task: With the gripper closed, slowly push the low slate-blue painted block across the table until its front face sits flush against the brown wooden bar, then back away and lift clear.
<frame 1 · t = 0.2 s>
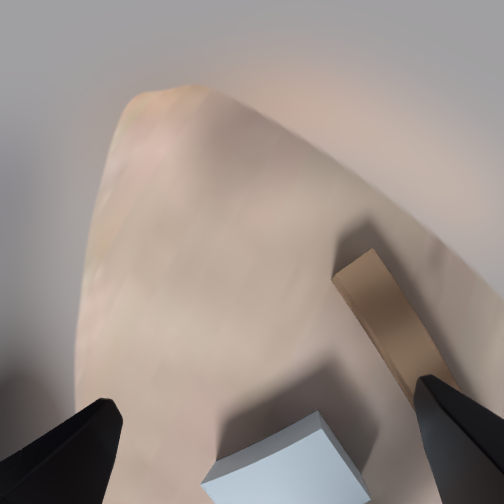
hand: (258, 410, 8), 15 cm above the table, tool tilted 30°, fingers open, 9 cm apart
brown wooden bar: (423, 386, 20), on the table
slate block: (288, 470, 20), on the table
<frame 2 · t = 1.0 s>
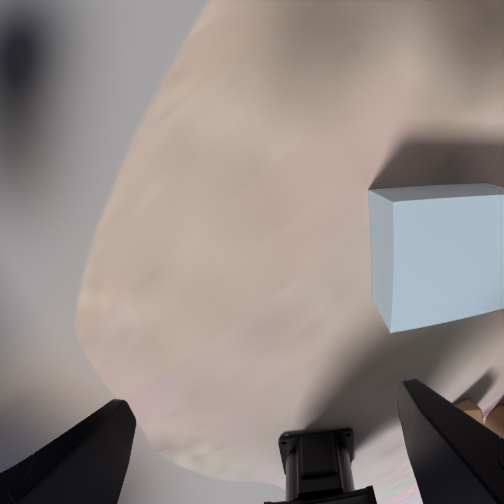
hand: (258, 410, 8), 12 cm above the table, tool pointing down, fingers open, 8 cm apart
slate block: (432, 238, 18), on the table
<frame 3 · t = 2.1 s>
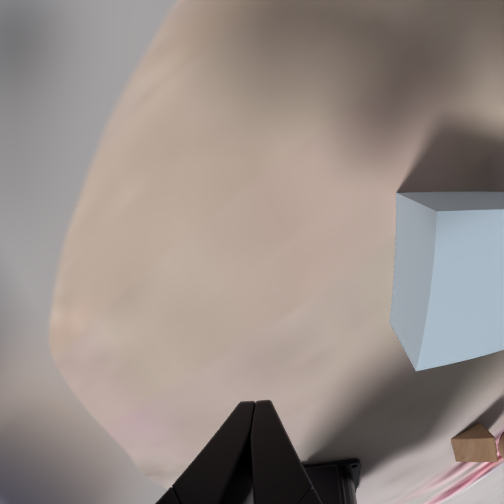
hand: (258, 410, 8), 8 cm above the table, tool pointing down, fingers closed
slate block: (464, 254, 15), on the table
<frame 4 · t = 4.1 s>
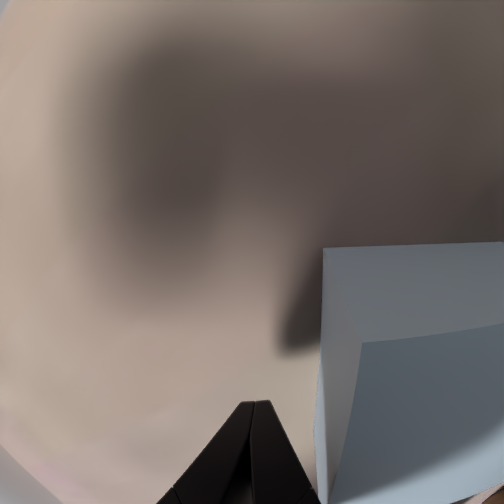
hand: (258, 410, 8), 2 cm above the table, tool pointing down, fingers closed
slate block: (446, 340, 9), on the table, touching gripper
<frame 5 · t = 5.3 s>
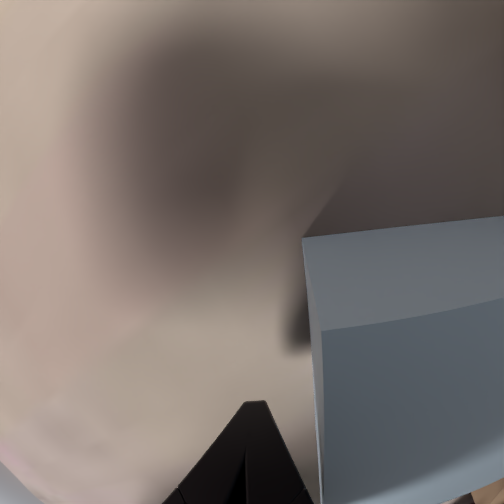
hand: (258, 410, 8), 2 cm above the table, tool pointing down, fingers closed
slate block: (445, 326, 9), on the table, touching gripper, brown wooden bar
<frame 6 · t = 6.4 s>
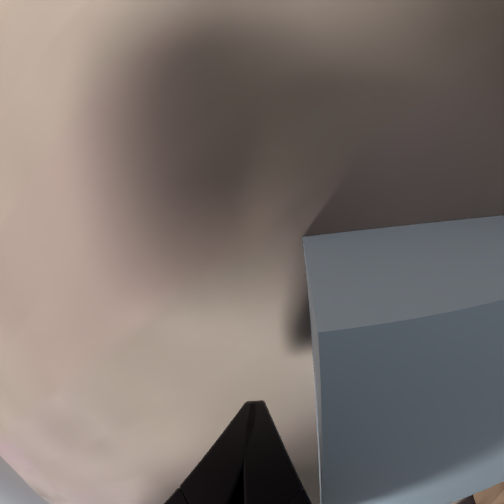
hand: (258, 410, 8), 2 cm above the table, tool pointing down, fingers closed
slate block: (448, 327, 9), on the table, touching gripper, brown wooden bar
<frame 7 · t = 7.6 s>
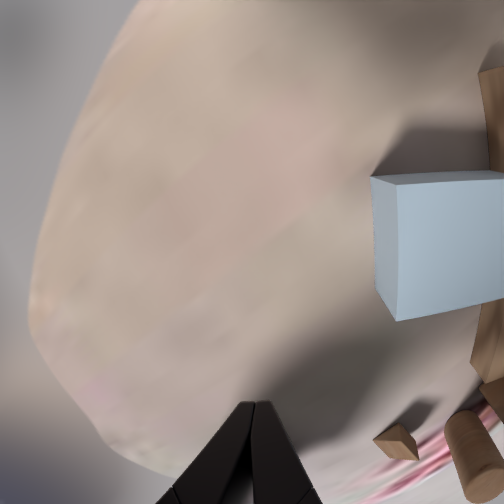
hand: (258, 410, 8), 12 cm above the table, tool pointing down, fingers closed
wooden block set: (466, 394, 22), on the table
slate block: (436, 226, 18), on the table
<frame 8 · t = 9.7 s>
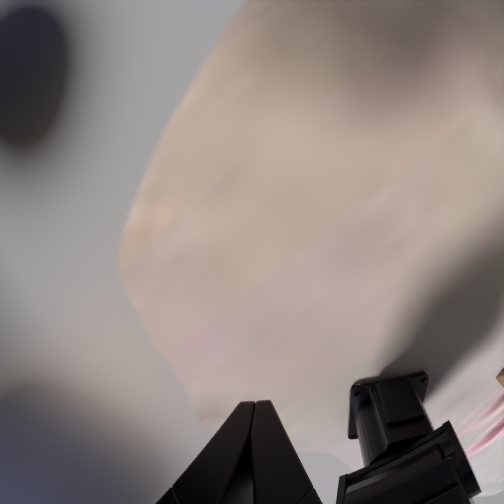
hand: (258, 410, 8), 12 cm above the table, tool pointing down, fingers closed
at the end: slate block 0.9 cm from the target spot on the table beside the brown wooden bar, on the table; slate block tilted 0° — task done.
